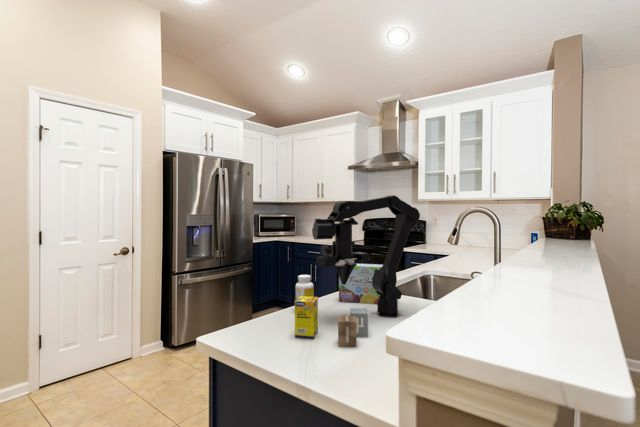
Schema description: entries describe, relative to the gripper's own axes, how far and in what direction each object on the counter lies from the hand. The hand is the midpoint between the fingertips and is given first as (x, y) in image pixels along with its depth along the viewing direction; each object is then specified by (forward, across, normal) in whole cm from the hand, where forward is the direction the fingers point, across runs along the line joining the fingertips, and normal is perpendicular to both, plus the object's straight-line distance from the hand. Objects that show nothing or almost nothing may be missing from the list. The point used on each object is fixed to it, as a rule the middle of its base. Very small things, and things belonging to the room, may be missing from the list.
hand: (343, 284), depth 117 cm
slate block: (+12, +4, +12) cm, 18 cm away
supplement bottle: (+12, +6, -16) cm, 21 cm away
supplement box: (+12, +17, +4) cm, 22 cm away
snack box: (+12, -20, -12) cm, 26 cm away
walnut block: (+12, +11, +16) cm, 23 cm away
